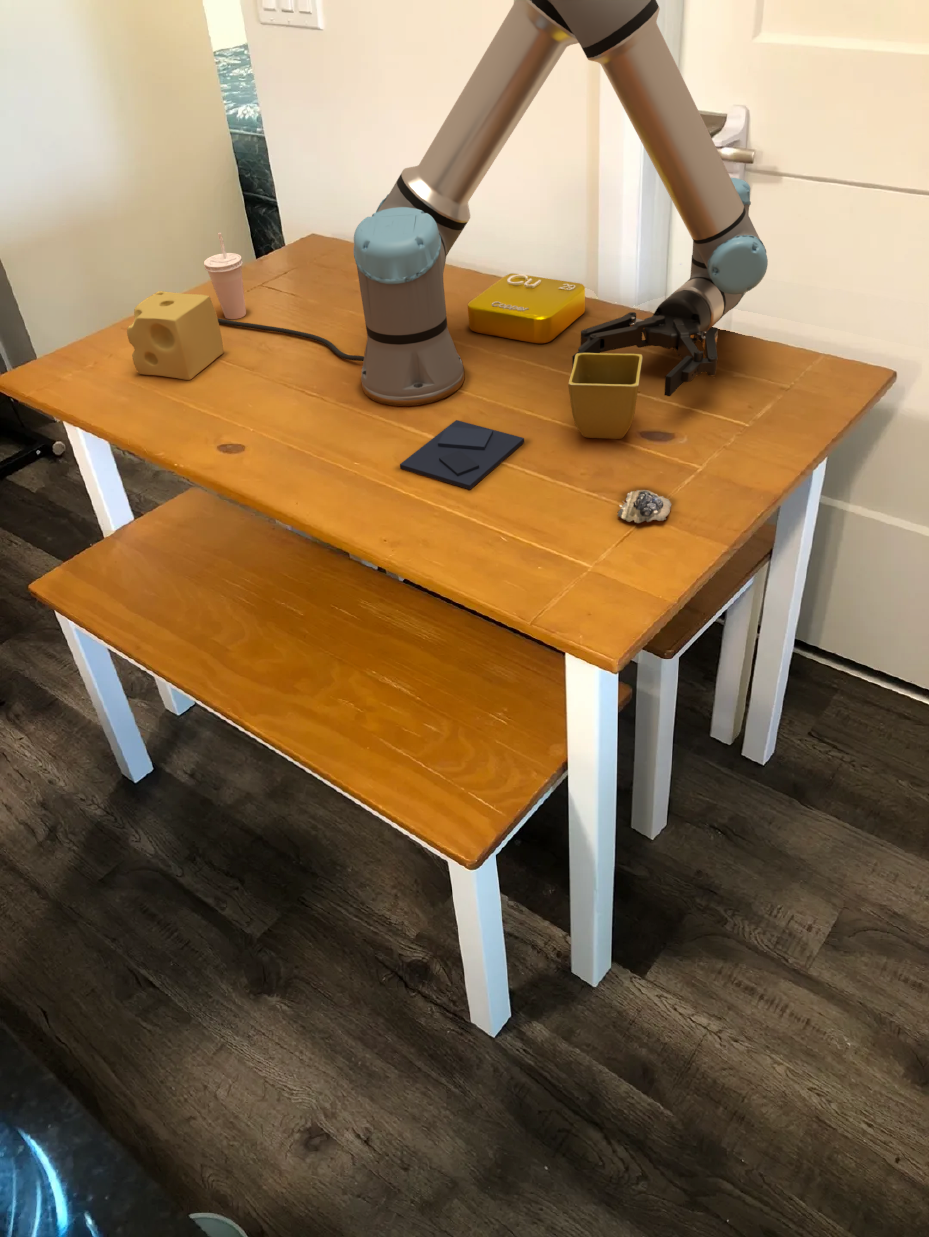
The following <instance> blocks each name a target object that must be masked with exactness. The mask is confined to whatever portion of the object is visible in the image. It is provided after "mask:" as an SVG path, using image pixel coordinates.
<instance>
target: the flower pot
mask: <svg viewBox="0 0 929 1237" xmlns="http://www.w3.org/2000/svg"><path fill="white" fill-rule="evenodd" d="M576 353H577V352H576ZM576 353H575V354H576ZM642 365H643V355H642V354H641V353H610V352H609V353H607V352H600V353H577V354H576V355H575V360H574V365H573V369H571V372H570V376H569V380H568V392H569V399H570V408H571V413H572V418H573V421H574V424H575V426H576V428H577V429H578V431H579V433H580V434H581V435H582V436H583V437H584V438H586V439H612V440H622V439H623V438H624V437H625V435H626V434H627V433H628V432H629V429H630V427H631V426H632V423H633V420H634V417H635V412H636V406H637V401H638V400H637V399H638V392H639V386H640V379H641V378H640V377H641V372H642Z"/></svg>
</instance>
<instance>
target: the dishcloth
mask: <svg viewBox="0 0 929 1237" xmlns="http://www.w3.org/2000/svg"><path fill="white" fill-rule="evenodd" d="M524 443H525V438H524V437H522V436H518V435H514V434H510V433H507V432H503V431H499V430H495V429H491V428H487V427H485V426H480V425H477V424H474V423H469V422H465V421H462V420H457V419H456V420H455V421H453V422H451V423H450V424H449V425H448V426H446V427H445V428H444V429H443V430H442V431H440V432H439V433H438V434H436V435H435V436H433V438H431V439H430V440H429V441H427V442H426V443H425V444H424V445H422V446H421V447H420V448H419V449H418V450H415V452H414V453H413V454H411V455H410V456H409V457H407V458H406V459H405V460H403V461H402V462H401V463H399V468H400V469H401V470H404V471H407V472H411V473H414V474H416V475H420V476H424V477H427V478H430V479H433V480H437V481H440V482H443V483H446V484H449V485H453V486H456V487H460V488H463V489H466V490H472V489H473V488H474V487H475V486H476V485H478V484H479V482H481V481H482V480H483V479H484V478H486V476H488V475H489V474H490V473H491V472H492V471H494V470H495V469H496V468H497V467H499V465H500V464H501V463H502V462H504V461H505V460H506V459H507V458H508V457H510V456H511V455H512V454H513V453H514V452H516V450H517V449H519V447H521V446H522V445H523V444H524Z"/></svg>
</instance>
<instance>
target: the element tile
mask: <svg viewBox="0 0 929 1237" xmlns="http://www.w3.org/2000/svg"><path fill="white" fill-rule="evenodd" d="M585 311H586V286H585V285H584V284H583V283H580V282H575V281H574V282H573V281H567V280H560V279H553V278H549V277H548V278H547V277H540V276H534V275H528V274H523V273H522V274H521V273H514V272H513V273H509V274H507V275H504V276H503V277H502V278H500V279H499V280H498V281H496V282H495V283H493V284H491V285H490V286H489V287H487V288H486V289H485V290H484V291H482V292H481V293H480V294H478V295H477V296H475V297H474V298H472V299H471V300H470V301H469V302H468V303H467V315H468V328H469V330H470V331H472V332H473V333H478V334H483V335H487V336H494V337H498V338H505V339H508V340H515V341H520V342H526V343H531V344H538V345H539V344H540V345H541V344H548V343H550V342H552V341H553V340H554V339H555V338H556V337H558V336H559V335H560V334H561V333H563V331H565V330H566V329H567V328H568V327H569V326H571V324H573V323H574V322H575V321H576V320H578V319H579V318H580V317H581V316H582V315H583V314H585Z"/></svg>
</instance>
